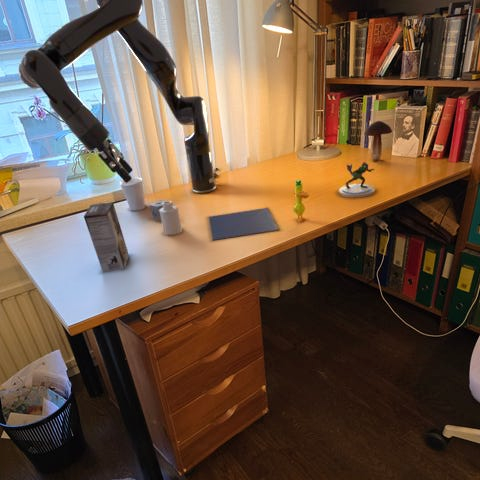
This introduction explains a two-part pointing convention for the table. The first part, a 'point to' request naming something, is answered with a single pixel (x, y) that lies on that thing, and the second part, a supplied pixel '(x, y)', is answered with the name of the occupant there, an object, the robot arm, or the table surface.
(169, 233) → the white vase
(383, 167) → the table surface
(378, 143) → the decorative mushroom
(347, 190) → the monster figurine
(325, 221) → the table surface
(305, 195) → the toy figure
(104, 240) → the coffee box
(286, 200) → the table surface
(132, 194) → the dixie cup
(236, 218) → the paper sheet
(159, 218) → the dice cube
